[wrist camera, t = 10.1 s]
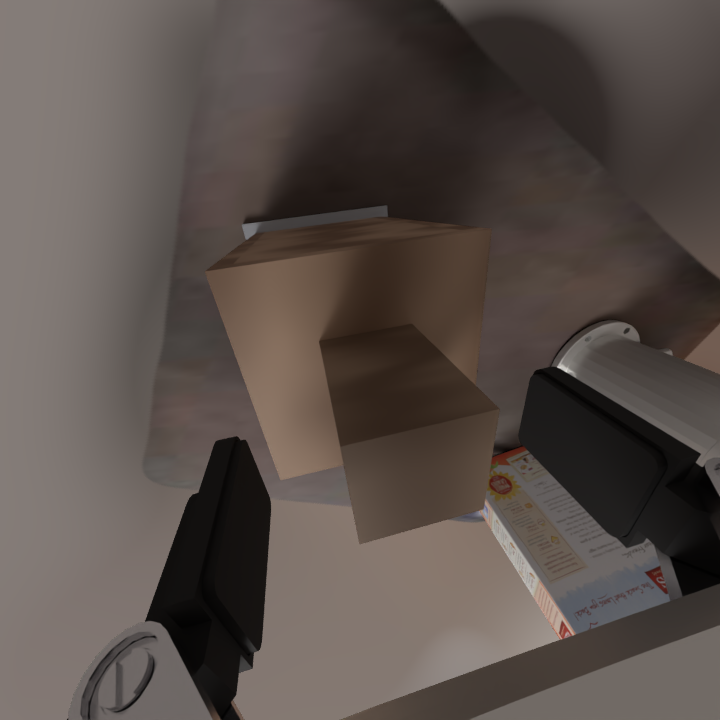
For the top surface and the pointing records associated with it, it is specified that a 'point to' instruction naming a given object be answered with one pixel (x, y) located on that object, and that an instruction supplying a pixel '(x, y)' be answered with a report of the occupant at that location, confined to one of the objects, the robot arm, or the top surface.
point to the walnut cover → (368, 360)
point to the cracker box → (566, 549)
